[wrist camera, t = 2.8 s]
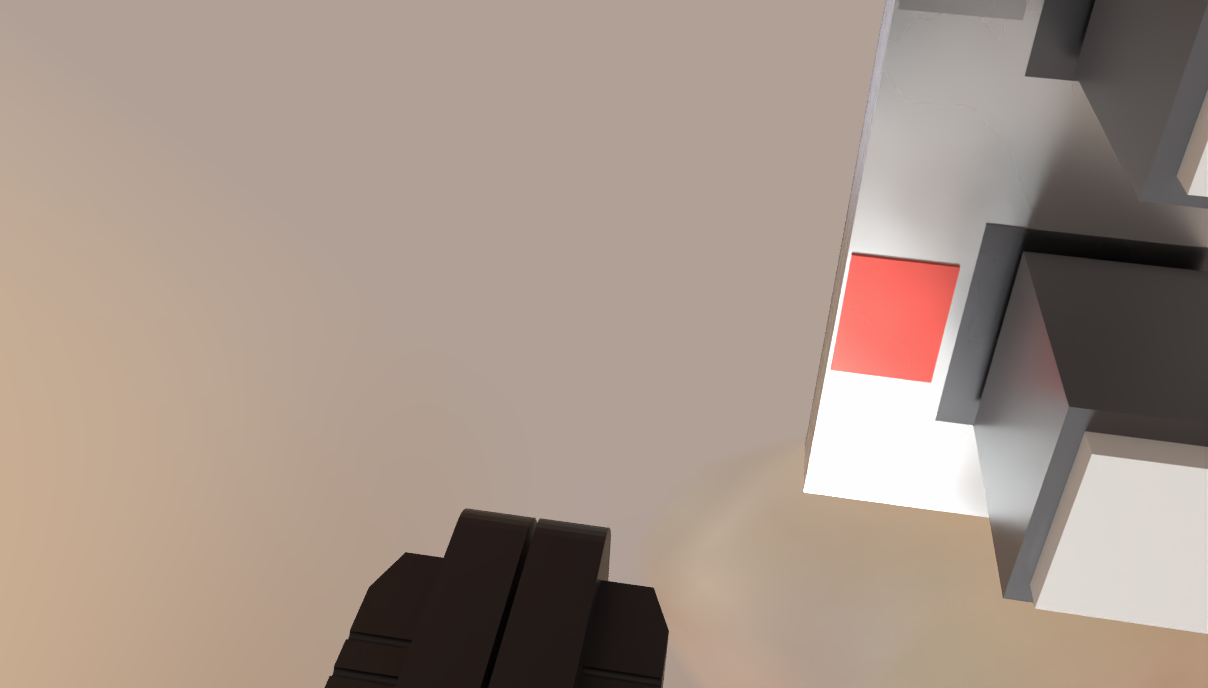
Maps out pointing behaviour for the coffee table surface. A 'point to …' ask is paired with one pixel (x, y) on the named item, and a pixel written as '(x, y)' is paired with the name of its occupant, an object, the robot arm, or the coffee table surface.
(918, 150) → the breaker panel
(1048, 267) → the toggle
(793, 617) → the coffee table surface
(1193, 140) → the toggle
